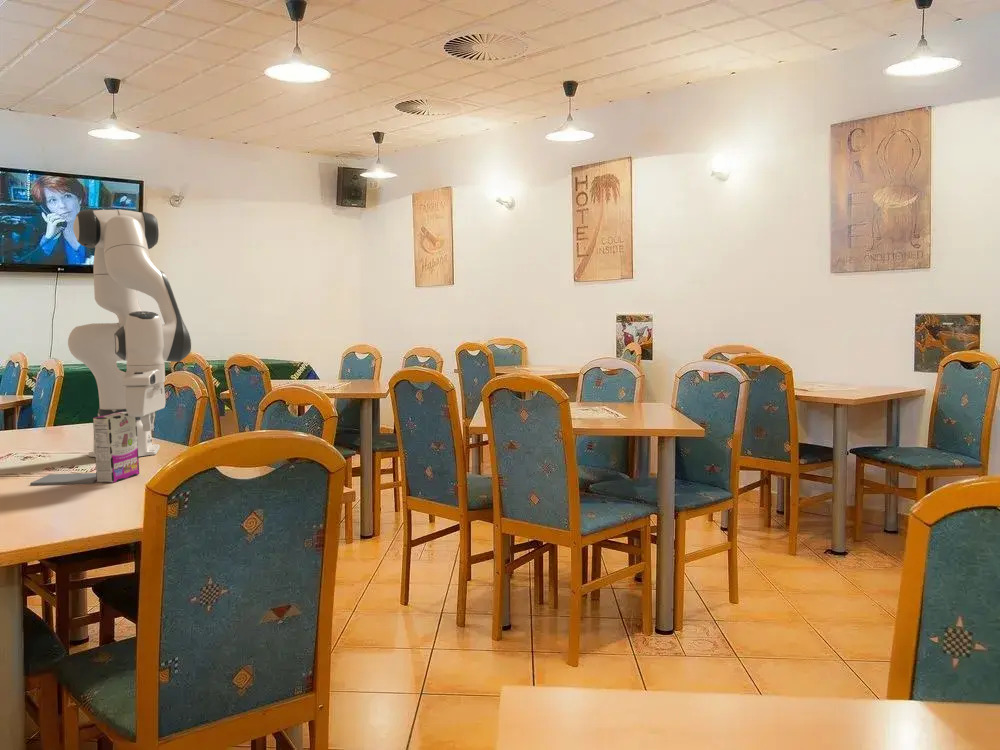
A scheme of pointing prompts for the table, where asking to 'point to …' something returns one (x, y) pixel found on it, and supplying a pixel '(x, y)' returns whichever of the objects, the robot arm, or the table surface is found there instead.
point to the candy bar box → (115, 447)
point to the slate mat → (66, 479)
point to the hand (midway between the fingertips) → (148, 430)
